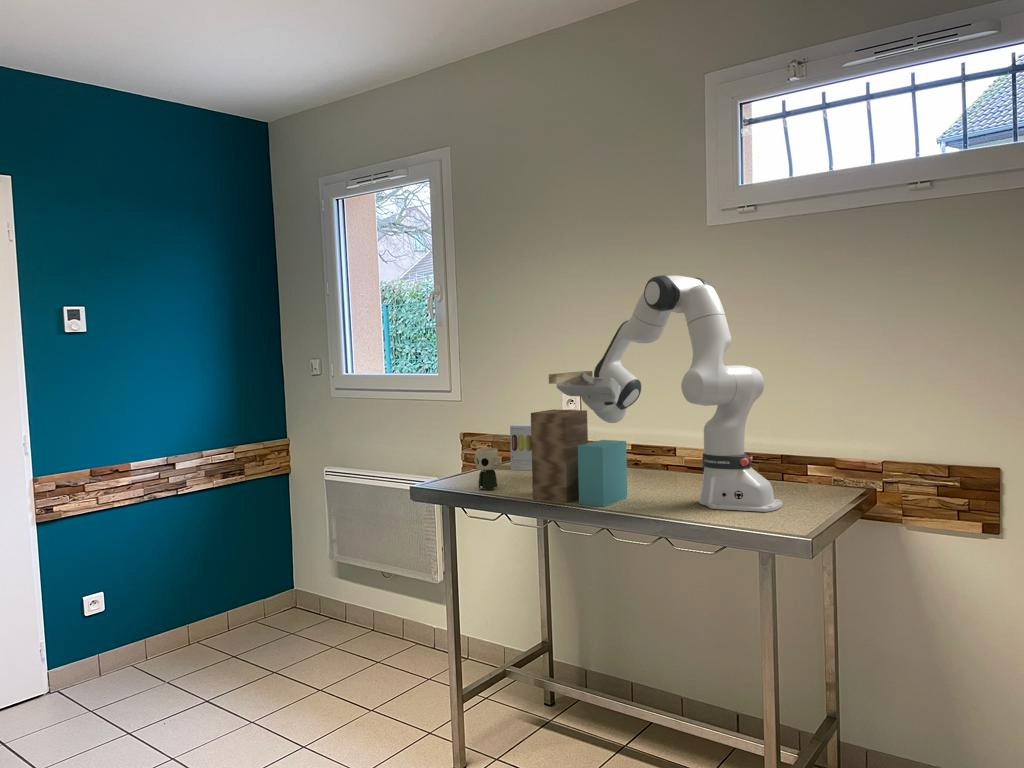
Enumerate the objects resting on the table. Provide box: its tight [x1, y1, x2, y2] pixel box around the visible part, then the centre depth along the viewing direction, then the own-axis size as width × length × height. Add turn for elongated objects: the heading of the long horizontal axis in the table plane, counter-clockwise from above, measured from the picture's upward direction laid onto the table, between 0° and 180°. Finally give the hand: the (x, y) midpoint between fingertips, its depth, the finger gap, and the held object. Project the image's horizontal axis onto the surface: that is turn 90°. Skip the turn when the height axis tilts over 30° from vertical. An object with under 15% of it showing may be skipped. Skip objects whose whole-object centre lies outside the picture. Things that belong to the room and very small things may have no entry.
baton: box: [548, 370, 594, 385], centre depth 240 cm, size 3×22×3 cm, turn 145°
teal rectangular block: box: [578, 439, 628, 508], centre depth 228 cm, size 8×15×17 cm, turn 145°
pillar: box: [530, 409, 589, 504], centre depth 235 cm, size 12×13×26 cm
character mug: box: [474, 447, 501, 490], centre depth 251 cm, size 11×7×13 cm, turn 49°
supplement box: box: [509, 422, 532, 471], centre depth 292 cm, size 10×9×17 cm
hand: (576, 375), depth 242 cm, fingers closed on baton, 3 cm apart
